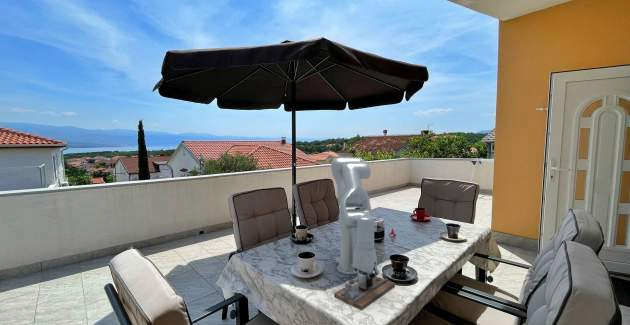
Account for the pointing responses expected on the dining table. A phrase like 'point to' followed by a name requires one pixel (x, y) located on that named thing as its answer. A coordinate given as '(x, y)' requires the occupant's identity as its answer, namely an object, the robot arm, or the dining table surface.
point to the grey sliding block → (362, 279)
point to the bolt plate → (363, 292)
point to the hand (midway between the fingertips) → (364, 284)
